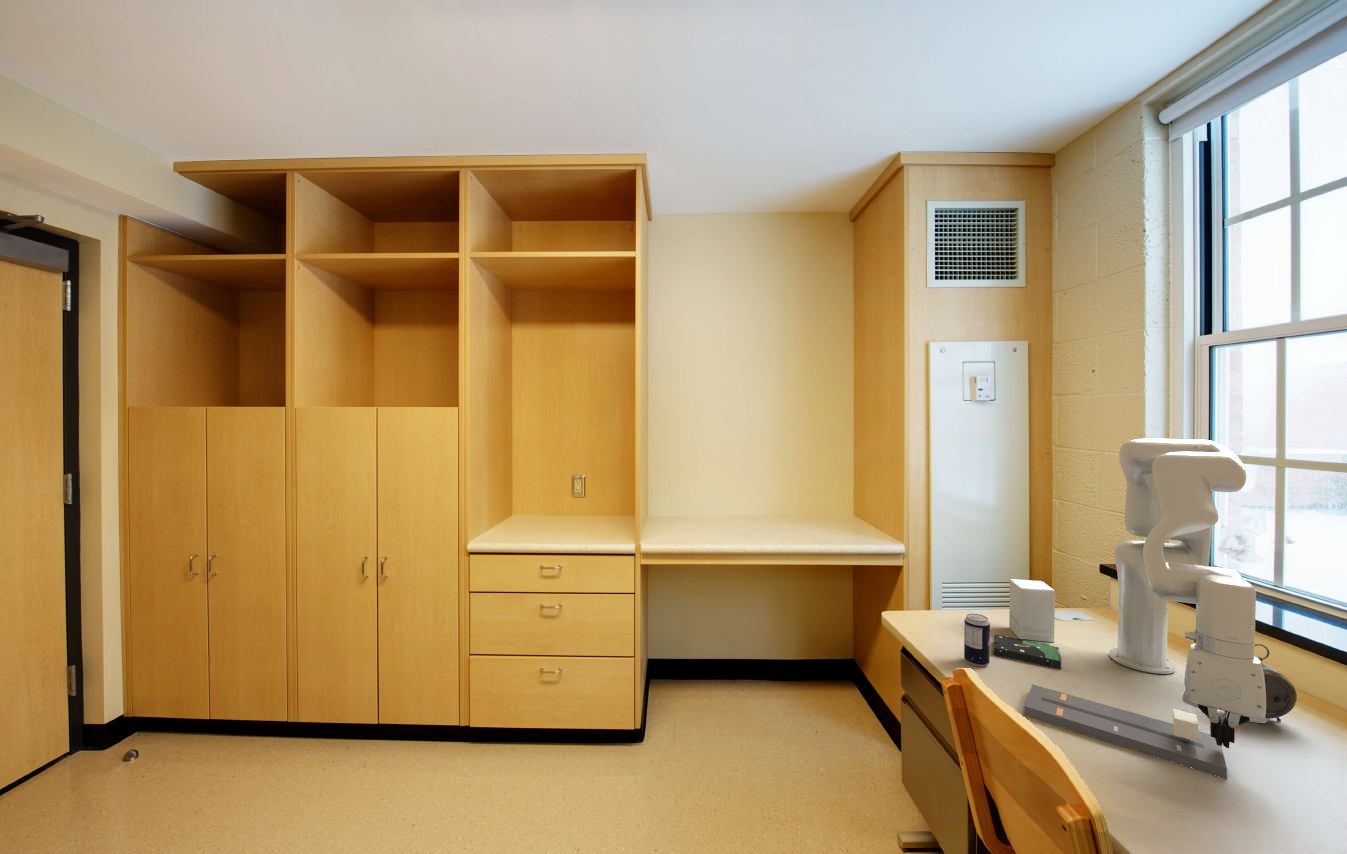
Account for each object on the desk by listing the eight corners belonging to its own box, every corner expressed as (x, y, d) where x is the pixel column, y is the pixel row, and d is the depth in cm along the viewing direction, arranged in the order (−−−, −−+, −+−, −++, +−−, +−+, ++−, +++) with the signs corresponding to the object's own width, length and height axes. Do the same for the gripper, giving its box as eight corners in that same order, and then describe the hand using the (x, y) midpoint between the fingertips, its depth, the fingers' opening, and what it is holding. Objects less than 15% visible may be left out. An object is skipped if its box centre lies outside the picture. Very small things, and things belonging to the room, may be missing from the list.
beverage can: (993, 669, 132) (993, 622, 132) (968, 667, 134) (968, 620, 133) (984, 658, 138) (984, 613, 138) (960, 657, 139) (961, 612, 139)
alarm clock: (1281, 718, 111) (1283, 642, 110) (1301, 732, 106) (1304, 653, 105) (1214, 708, 114) (1216, 635, 114) (1231, 722, 109) (1233, 645, 109)
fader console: (1032, 692, 121) (1032, 684, 121) (1218, 747, 101) (1218, 736, 101) (1023, 715, 112) (1023, 705, 112) (1226, 779, 92) (1226, 768, 92)
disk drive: (993, 657, 140) (1062, 671, 132) (993, 647, 140) (1062, 660, 132) (993, 643, 149) (1058, 655, 141) (993, 633, 149) (1058, 645, 141)
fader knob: (1172, 730, 103) (1173, 708, 103) (1195, 736, 101) (1196, 714, 100) (1174, 740, 99) (1174, 718, 99) (1197, 747, 97) (1198, 724, 97)
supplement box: (1055, 643, 147) (1056, 590, 147) (1019, 639, 150) (1019, 587, 149) (1042, 630, 156) (1043, 580, 156) (1008, 627, 158) (1009, 578, 158)
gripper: (1169, 640, 98) (1167, 736, 99) (1290, 665, 89) (1288, 772, 89) (1167, 628, 104) (1165, 719, 105) (1281, 650, 94) (1278, 750, 95)
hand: (1222, 743), depth 97 cm, fingers closed
